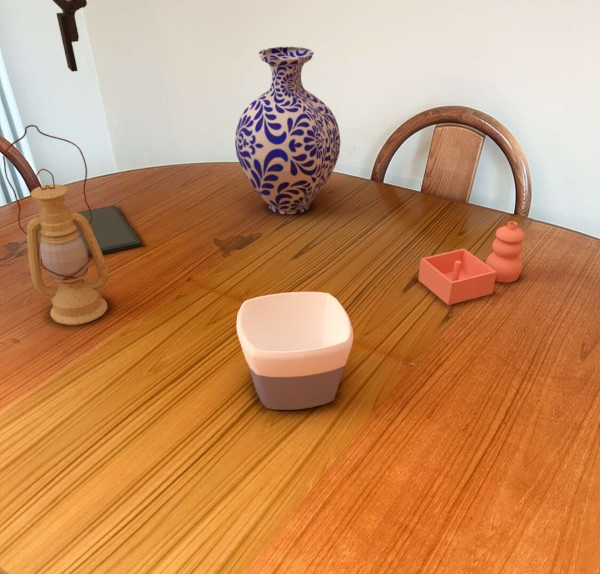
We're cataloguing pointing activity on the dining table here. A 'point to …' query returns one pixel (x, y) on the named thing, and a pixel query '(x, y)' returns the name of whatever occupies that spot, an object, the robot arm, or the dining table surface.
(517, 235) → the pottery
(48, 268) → the lantern
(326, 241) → the dining table surface
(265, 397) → the bowl
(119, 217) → the placemat
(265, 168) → the vase
